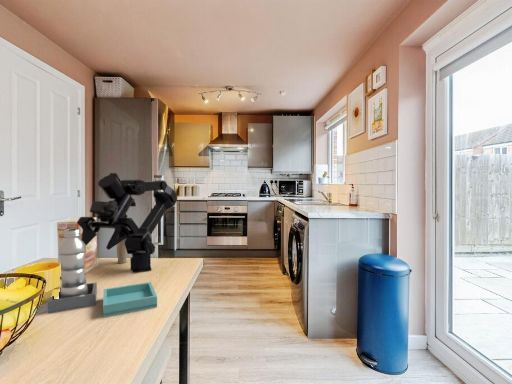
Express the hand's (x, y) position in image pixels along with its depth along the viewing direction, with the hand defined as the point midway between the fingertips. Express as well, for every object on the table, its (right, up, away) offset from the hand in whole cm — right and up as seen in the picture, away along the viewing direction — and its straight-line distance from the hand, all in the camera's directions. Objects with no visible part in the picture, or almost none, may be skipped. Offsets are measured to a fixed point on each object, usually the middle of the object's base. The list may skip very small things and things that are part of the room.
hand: (94, 248), depth 88 cm
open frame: (-2, -13, -7) cm, 15 cm away
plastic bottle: (-2, -14, -7) cm, 15 cm away
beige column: (-6, -12, +33) cm, 36 cm away
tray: (+14, -13, -8) cm, 21 cm away
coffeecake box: (-17, -13, +21) cm, 30 cm away
